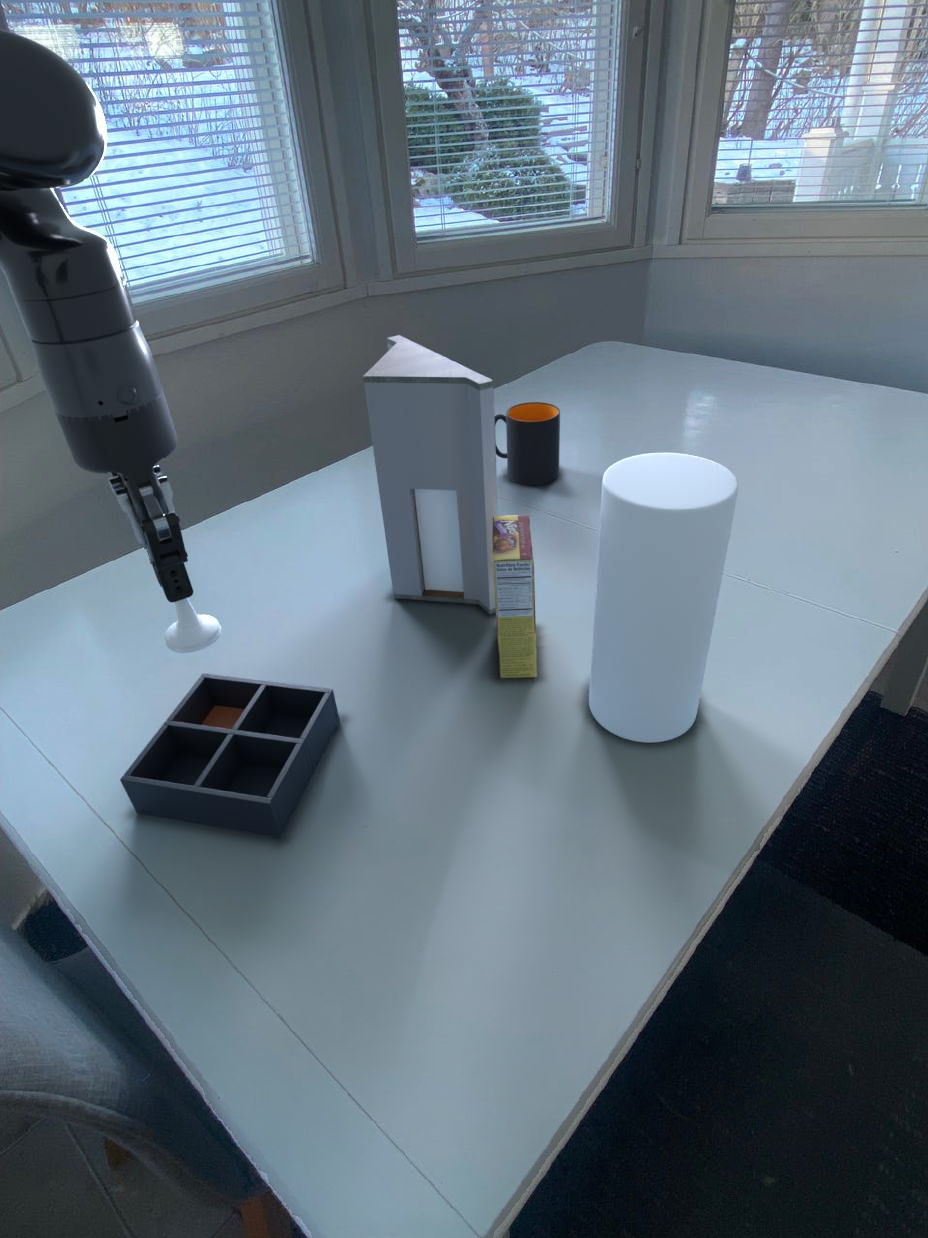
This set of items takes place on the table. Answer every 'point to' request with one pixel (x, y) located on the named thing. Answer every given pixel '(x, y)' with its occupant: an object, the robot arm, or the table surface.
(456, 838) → the table surface
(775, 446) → the table surface
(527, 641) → the candy box
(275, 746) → the tray
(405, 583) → the cabinet
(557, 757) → the table surface
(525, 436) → the mug
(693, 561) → the tall pillar cylinder
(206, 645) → the chess piece
